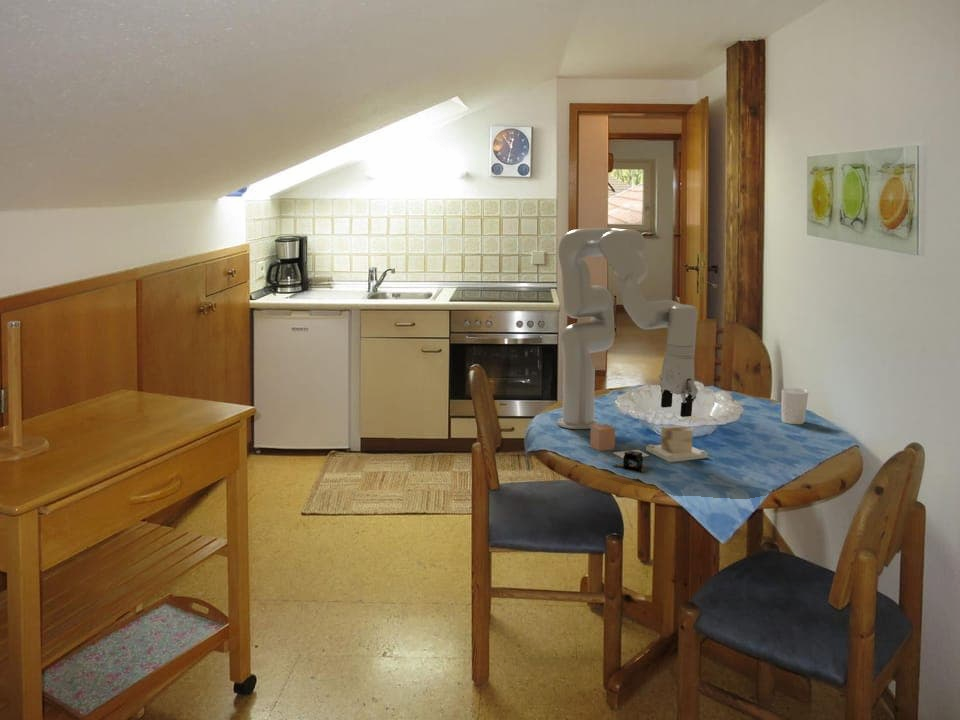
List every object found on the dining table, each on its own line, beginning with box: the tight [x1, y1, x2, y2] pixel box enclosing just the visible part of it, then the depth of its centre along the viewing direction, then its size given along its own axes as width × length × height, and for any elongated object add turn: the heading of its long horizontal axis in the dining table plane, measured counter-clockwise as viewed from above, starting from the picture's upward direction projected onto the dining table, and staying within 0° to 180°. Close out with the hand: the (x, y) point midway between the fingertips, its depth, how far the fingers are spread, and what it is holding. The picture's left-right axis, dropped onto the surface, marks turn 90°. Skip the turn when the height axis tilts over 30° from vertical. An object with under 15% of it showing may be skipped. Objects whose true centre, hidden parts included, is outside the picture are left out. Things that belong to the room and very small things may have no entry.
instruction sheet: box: [612, 449, 650, 459], centre depth 262 cm, size 6×8×1 cm
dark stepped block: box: [612, 449, 654, 474], centre depth 250 cm, size 12×7×5 cm, turn 53°
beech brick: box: [660, 424, 694, 454], centre depth 262 cm, size 6×6×6 cm
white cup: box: [780, 387, 809, 425], centre depth 297 cm, size 8×8×10 cm
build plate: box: [645, 444, 708, 463], centre depth 262 cm, size 12×12×2 cm
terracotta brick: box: [589, 423, 616, 452], centre depth 268 cm, size 5×5×6 cm
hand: (675, 411), depth 261 cm, fingers open, 9 cm apart
